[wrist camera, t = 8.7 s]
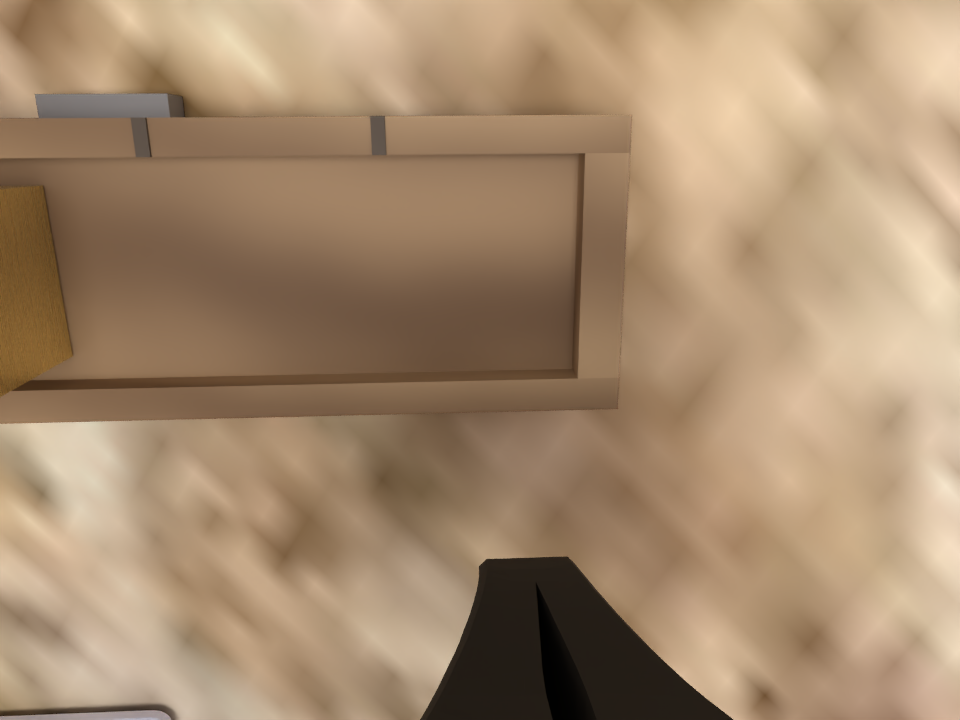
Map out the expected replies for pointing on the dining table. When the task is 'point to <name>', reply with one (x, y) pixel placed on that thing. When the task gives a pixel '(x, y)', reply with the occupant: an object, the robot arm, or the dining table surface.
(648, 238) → the dining table surface
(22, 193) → the yellow block
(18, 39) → the dining table surface
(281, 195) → the brown rectangular tray
